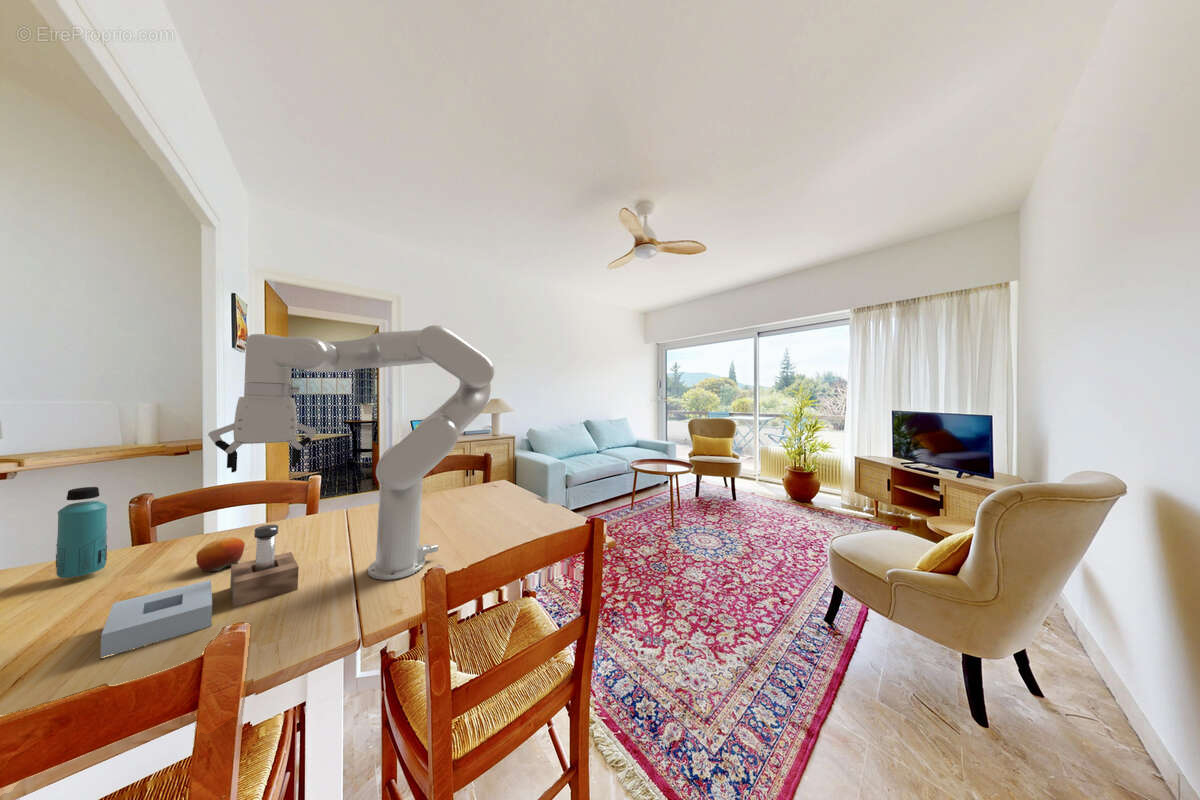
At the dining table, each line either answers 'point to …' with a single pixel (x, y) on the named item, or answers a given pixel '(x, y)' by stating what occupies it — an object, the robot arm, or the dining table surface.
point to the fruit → (220, 554)
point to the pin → (265, 546)
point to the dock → (157, 617)
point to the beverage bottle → (81, 535)
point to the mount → (263, 580)
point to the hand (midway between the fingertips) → (265, 468)
